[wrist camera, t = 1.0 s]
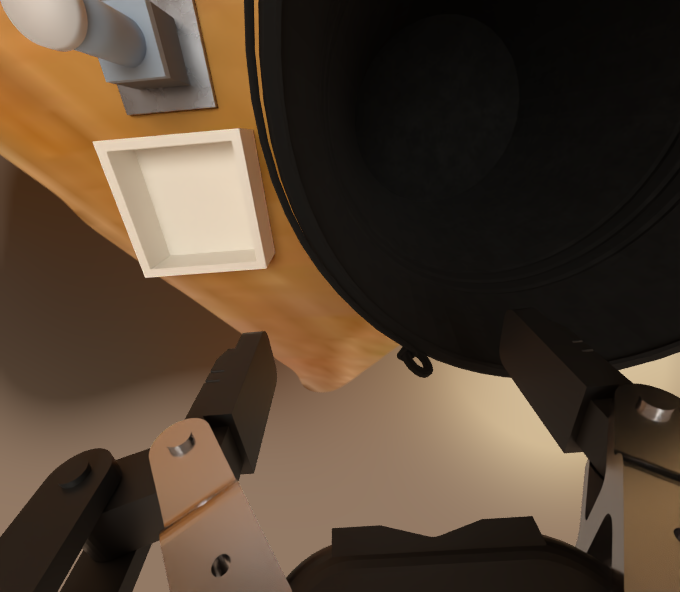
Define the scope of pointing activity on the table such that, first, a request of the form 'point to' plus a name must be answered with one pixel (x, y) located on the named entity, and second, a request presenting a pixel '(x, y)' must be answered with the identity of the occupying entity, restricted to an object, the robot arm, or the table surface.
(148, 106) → the stud mount
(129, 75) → the knob
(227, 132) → the parts tray
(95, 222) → the table surface
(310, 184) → the bucket
